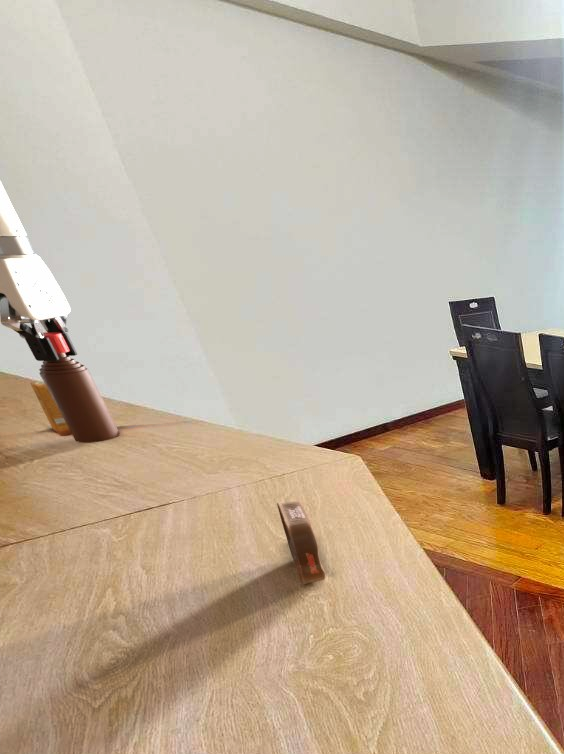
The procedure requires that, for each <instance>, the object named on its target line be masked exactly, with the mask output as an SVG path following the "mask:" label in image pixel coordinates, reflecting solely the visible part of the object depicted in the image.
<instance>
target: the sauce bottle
mask: <svg viewBox="0 0 564 754" xmlns="http://www.w3.org/2000/svg"><path fill="white" fill-rule="evenodd" d="M57 355H58V357H59V360H57V361H42V364H41V365H40V367H41V368H39V369H38V371H39V375H40V378H41V380H42V382H44V383H45V385H46V387H47V389H48V390H49V392H50V394H51V396H52V398H53V400H54V402H55V403H56V405H57V407H58V409H59V411H60V413H61V415H62V416H63V418H64V420H65V422H66V424H67V426H68V428H69V429H70V431H71V433H72V434H71V435H72V437H73V439H74V440H75V442H77V441H79V442H78V443H96V442H97V443H98V442H103V441H108V440H112V439H115V438H117V437H119V436H120V435H121V433H120V431H119V429H118V427H117V425H116V423H115V420H114V419H113V417H112V415H111V412H110V411H109V409H108V407H107V405H106V402H105V400H104V398H103V397H102V394H101V393H100V391H99V389H98V386H97V385H96V383H95V381H94V379H93V377H92V374H91V373H90V371H89V368H87V367H86V366H85V365H84V364H81V362H79V361H76V359H74V358H71V356H66V354H65V353H59V354H57ZM119 434H120V435H119ZM95 441H96V442H95Z"/></svg>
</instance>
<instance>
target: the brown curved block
mask: <svg viewBox="0 0 564 754" xmlns="http://www.w3.org/2000/svg"><path fill="white" fill-rule="evenodd" d="M276 505H277V510H278V513H279V516H280V521H281V524H282V527H283V530H284V531H283V532H284V534H285V537H286V542H287V545H288V548H289V549H288V550H289V551H290V555H291V557H292V560H293V564H294V566H295V570H296V572H297V574H298V577H299V580H300V583H301V585H302V586H305V585H307V584H311V583H316V582H321V581H324V580H325V579H326V578H327V577H326V571H325V569H324V567H323V565H322V562H321V558H320V554H319V553H320V552H319V544H318V540H317V537H316V534H315V531H314V528H313V525H312V522H311V519H310V518H309V515H308V513H307V510H306V508H305V506H304V504H303V503H302V502H301V501H300V500H299V501H298V500H295V501H287V502H286V501H285V502H277V503H276Z"/></svg>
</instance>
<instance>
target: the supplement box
mask: <svg viewBox="0 0 564 754" xmlns="http://www.w3.org/2000/svg"><path fill="white" fill-rule="evenodd" d="M30 386H31V388H32V389H33V392H34V394H35V396H36V398H37V400H38V402H39V404H40V406H41V408H42V410H43V413H44V414H45V416H46V419H47V420H48V422H49V425H50V427H51V429H53V432H54V433H55V434H56V435H58V436H60V437H62V436H63V435H64V436H69V435H68V434H70V435H72V433H71V431H70V429H69V428H68V426H67V424H66V422H65V420H64V418H63V416H62V415H61V413H60V411H59V409H58V407H57V405H56V403H55V402H54V400H53V398H52V396H51V394H50V392H49V390H48V389H47V387H46V385H45V383H44V381H35V382H30Z"/></svg>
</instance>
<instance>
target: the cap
mask: <svg viewBox="0 0 564 754" xmlns="http://www.w3.org/2000/svg"><path fill="white" fill-rule="evenodd" d="M43 334H44V338H49V340H50V342H51V343H52V345H53V347H54V349H55V351H56V353H57V354H59V353H66V352H69V351H70V349H69V347H68V345H67V343H66V341H65V339H64V337H63V336H62V334H61V333H58V332H47V331H46V332H45V331H44V332H43Z"/></svg>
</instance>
